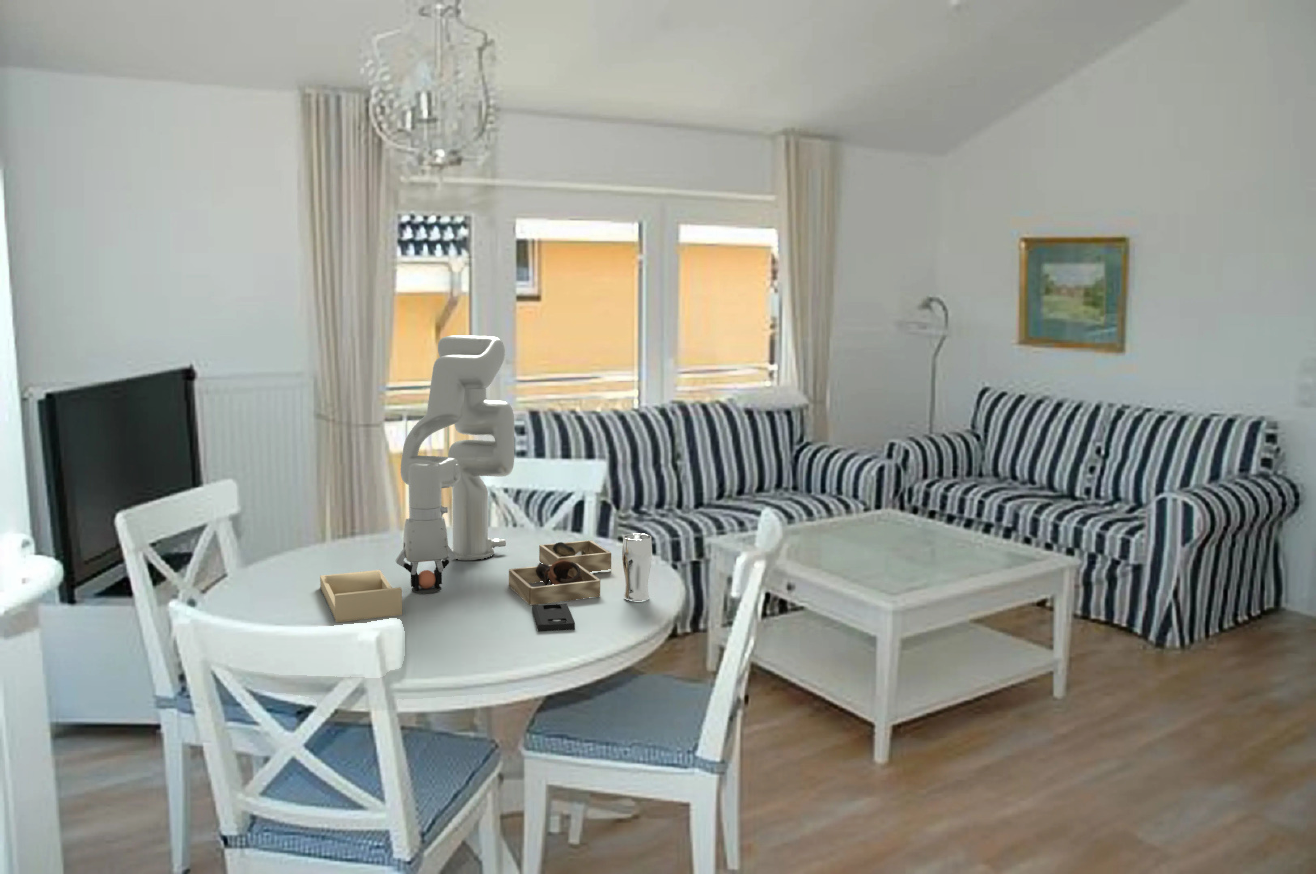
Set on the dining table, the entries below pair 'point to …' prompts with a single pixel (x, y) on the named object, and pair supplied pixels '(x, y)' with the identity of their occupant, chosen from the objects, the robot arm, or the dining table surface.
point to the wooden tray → (591, 561)
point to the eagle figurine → (566, 550)
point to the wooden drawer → (360, 596)
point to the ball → (426, 579)
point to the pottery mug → (558, 572)
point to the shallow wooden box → (552, 586)
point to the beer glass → (636, 565)
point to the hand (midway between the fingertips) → (426, 587)
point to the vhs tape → (553, 617)
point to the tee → (426, 590)
